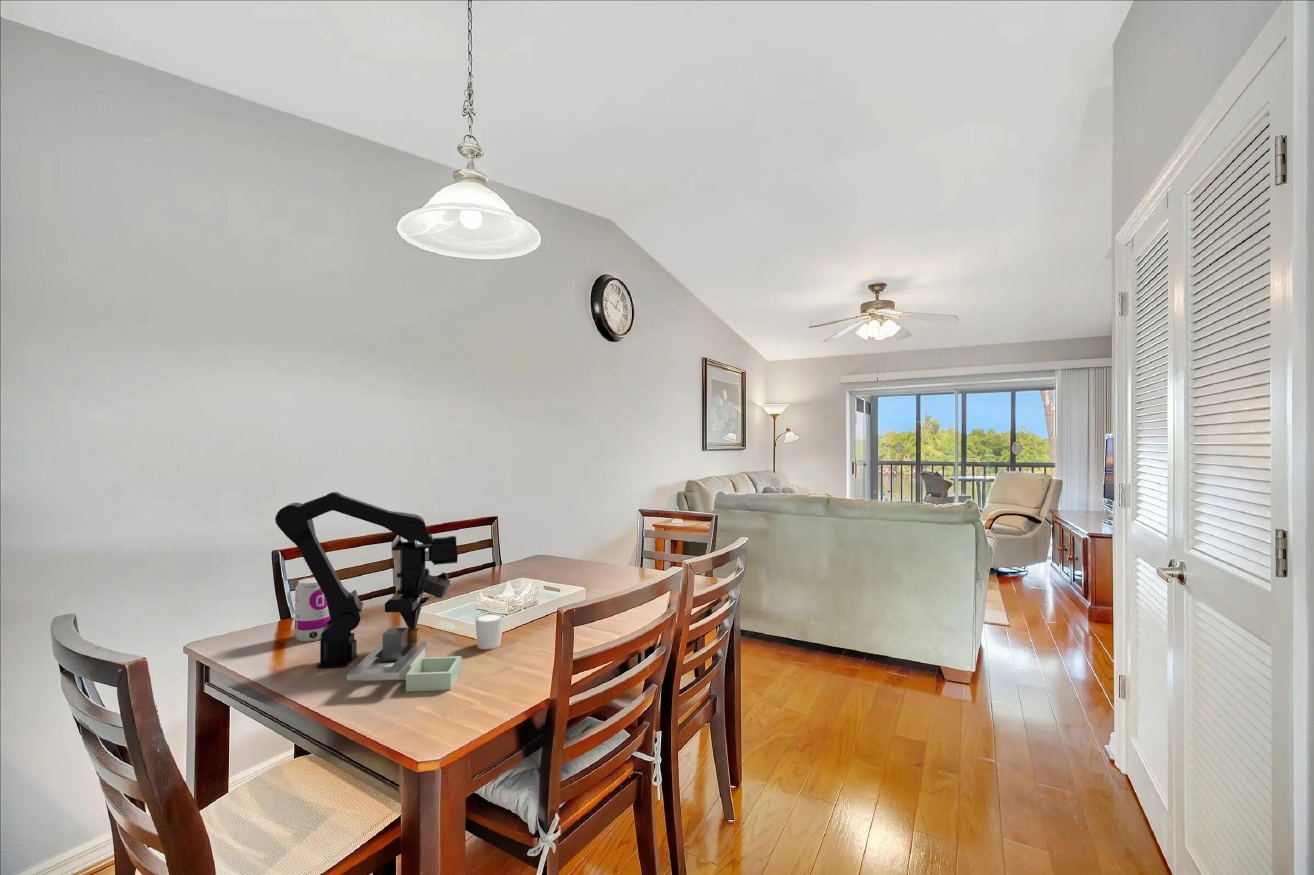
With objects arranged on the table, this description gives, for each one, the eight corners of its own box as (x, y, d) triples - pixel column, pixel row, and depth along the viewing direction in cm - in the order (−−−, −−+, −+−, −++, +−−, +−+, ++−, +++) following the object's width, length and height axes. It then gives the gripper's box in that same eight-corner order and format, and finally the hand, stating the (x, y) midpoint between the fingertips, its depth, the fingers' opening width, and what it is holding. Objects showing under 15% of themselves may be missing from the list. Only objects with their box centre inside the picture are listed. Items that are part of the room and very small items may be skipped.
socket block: (380, 662, 128) (380, 649, 128) (424, 660, 130) (425, 648, 130) (362, 681, 119) (362, 667, 119) (410, 679, 120) (410, 665, 120)
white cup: (494, 651, 136) (495, 622, 136) (469, 649, 137) (469, 620, 137) (507, 641, 143) (508, 614, 143) (483, 639, 144) (483, 612, 144)
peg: (377, 676, 121) (378, 635, 121) (387, 666, 126) (387, 627, 126) (403, 675, 122) (403, 634, 122) (411, 665, 127) (411, 626, 127)
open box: (405, 691, 114) (405, 674, 114) (419, 673, 123) (419, 657, 123) (450, 689, 115) (450, 673, 115) (461, 671, 124) (461, 656, 124)
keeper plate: (382, 647, 129) (382, 629, 129) (426, 645, 130) (426, 627, 130) (347, 680, 111) (347, 659, 111) (398, 678, 112) (398, 657, 112)
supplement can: (337, 635, 146) (338, 578, 146) (304, 644, 139) (305, 585, 139) (322, 629, 150) (322, 574, 151) (288, 638, 144) (289, 581, 144)
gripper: (433, 575, 126) (433, 643, 126) (457, 558, 145) (457, 617, 145) (383, 576, 126) (383, 644, 126) (413, 558, 144) (413, 618, 144)
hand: (412, 630), depth 135 cm, fingers closed
